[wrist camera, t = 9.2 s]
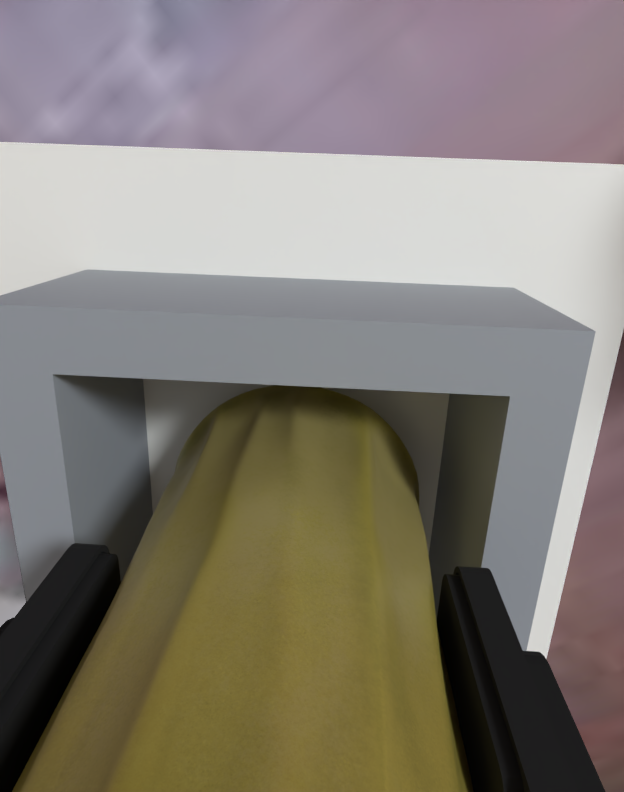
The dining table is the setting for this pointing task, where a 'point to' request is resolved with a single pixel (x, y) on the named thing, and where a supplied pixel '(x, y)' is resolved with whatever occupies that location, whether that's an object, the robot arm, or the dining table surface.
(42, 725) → the robot arm
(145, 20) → the dining table surface
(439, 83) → the dining table surface
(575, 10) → the dining table surface
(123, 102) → the dining table surface
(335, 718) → the vase
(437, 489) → the holder
